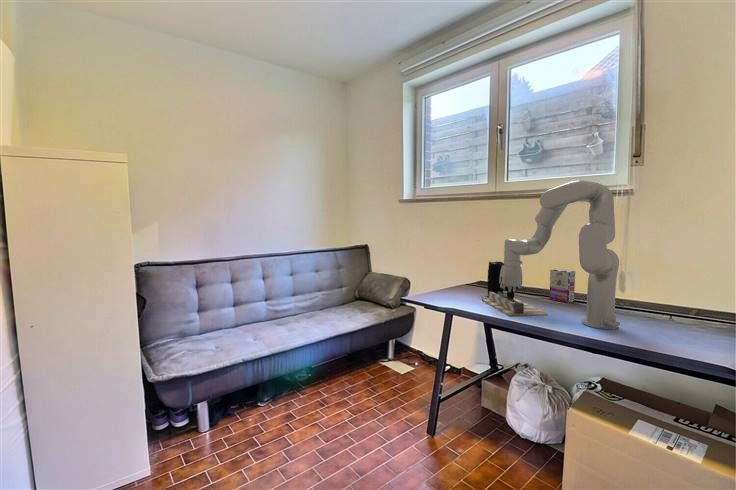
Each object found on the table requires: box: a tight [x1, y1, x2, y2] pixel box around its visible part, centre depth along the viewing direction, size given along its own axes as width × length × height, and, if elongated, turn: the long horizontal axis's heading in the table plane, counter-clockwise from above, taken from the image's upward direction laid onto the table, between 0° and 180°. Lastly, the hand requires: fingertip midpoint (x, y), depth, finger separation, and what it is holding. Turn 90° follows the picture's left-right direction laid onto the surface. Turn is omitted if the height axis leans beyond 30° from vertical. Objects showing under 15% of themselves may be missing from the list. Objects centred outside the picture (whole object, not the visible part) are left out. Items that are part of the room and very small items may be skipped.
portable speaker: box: [487, 261, 505, 297], centre depth 190 cm, size 9×9×20 cm
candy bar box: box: [549, 268, 576, 304], centre depth 182 cm, size 11×5×16 cm, turn 25°
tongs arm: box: [498, 291, 519, 303], centre depth 170 cm, size 25×2×4 cm, turn 179°
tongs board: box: [481, 292, 548, 317], centre depth 169 cm, size 30×18×5 cm, turn 5°
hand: (510, 299), depth 173 cm, fingers closed
